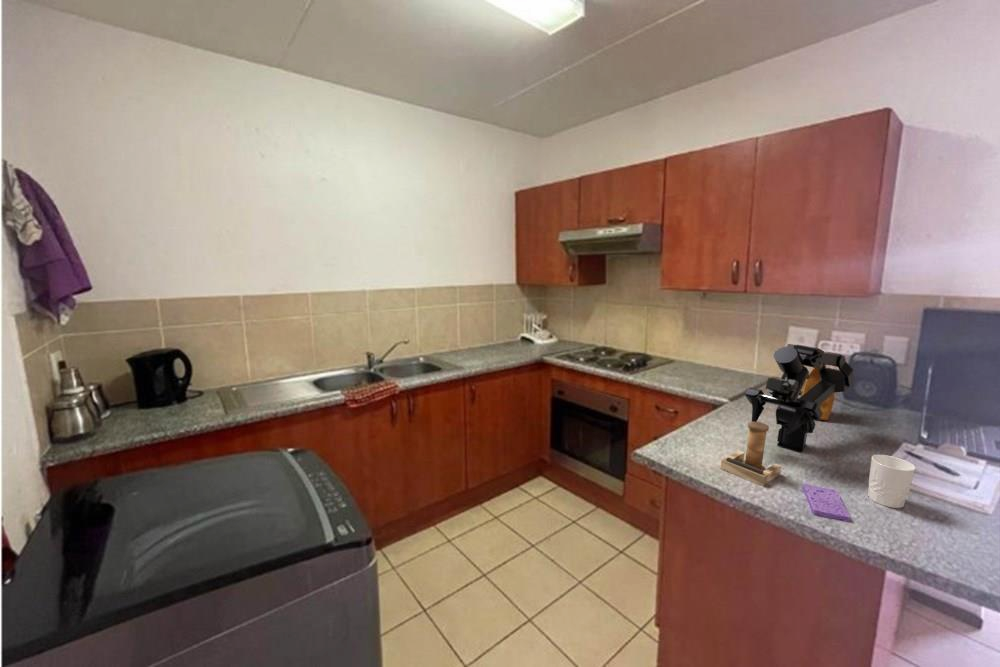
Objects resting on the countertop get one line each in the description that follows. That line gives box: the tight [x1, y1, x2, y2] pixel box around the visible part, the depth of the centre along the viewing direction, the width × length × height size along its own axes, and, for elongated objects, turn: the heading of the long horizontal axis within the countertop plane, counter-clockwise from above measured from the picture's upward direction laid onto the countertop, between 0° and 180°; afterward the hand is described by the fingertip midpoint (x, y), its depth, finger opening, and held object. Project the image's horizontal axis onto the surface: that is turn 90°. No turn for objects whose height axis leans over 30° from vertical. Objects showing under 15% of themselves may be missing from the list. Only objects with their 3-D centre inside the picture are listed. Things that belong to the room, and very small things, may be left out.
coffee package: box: [800, 364, 835, 421], centre depth 160 cm, size 10×12×22 cm
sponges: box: [802, 483, 851, 523], centre depth 106 cm, size 7×13×2 cm, turn 156°
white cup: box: [867, 454, 917, 509], centre depth 107 cm, size 8×8×10 cm
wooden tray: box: [720, 450, 782, 487], centre depth 121 cm, size 10×11×3 cm
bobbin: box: [742, 421, 770, 471], centre depth 121 cm, size 6×6×13 cm
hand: (769, 428), depth 125 cm, fingers open, 9 cm apart
